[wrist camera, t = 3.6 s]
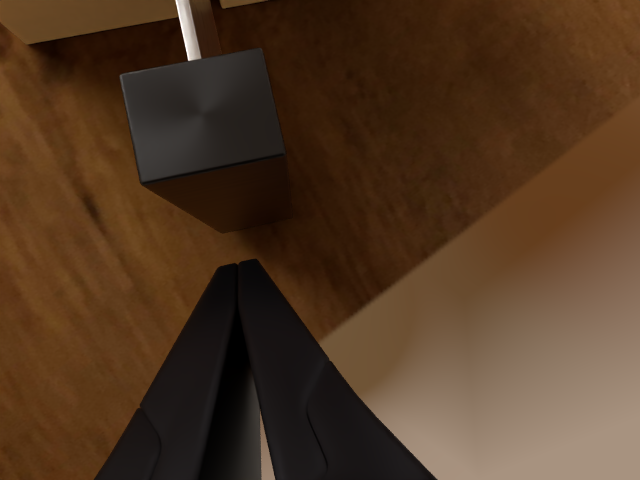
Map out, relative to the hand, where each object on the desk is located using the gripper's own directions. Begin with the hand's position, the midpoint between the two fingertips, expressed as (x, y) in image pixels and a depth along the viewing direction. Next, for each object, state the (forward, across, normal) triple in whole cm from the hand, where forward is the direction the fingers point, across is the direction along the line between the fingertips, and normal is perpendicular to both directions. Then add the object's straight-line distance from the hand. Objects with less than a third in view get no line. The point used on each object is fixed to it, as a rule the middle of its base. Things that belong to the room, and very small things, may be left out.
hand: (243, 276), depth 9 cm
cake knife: (+11, 0, 0) cm, 11 cm away
